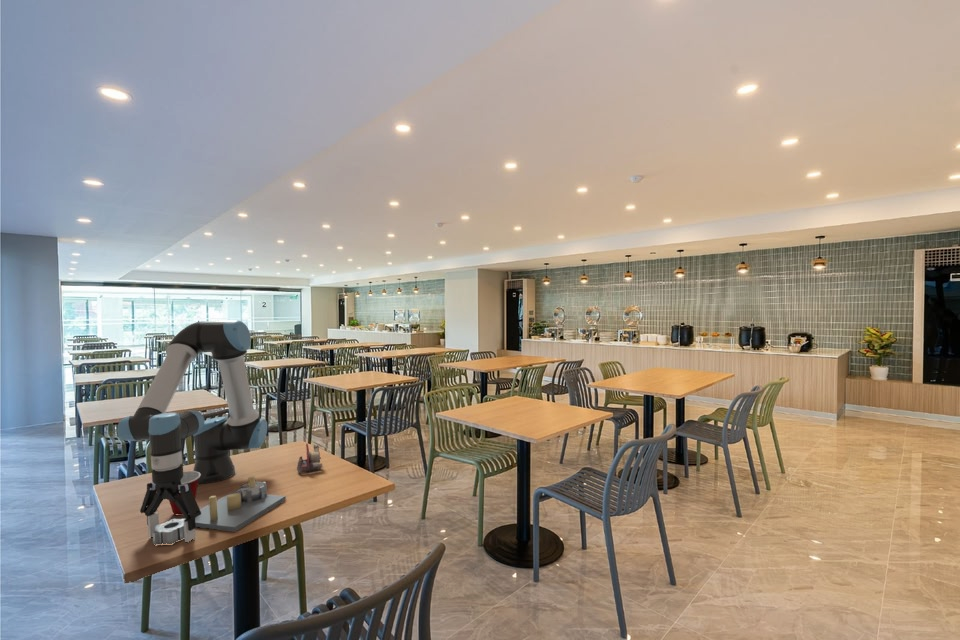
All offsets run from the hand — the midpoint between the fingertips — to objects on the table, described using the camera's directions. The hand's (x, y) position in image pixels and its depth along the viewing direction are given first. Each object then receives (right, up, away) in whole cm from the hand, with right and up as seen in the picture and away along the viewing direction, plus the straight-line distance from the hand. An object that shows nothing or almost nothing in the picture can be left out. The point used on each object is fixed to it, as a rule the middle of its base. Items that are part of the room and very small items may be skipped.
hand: (172, 538), depth 132 cm
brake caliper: (+21, +2, +53) cm, 57 cm away
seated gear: (+12, +3, +24) cm, 27 cm away
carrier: (+10, +1, +16) cm, 19 cm away
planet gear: (0, 0, 0) cm, 0 cm away
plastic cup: (-8, 0, +18) cm, 20 cm away
